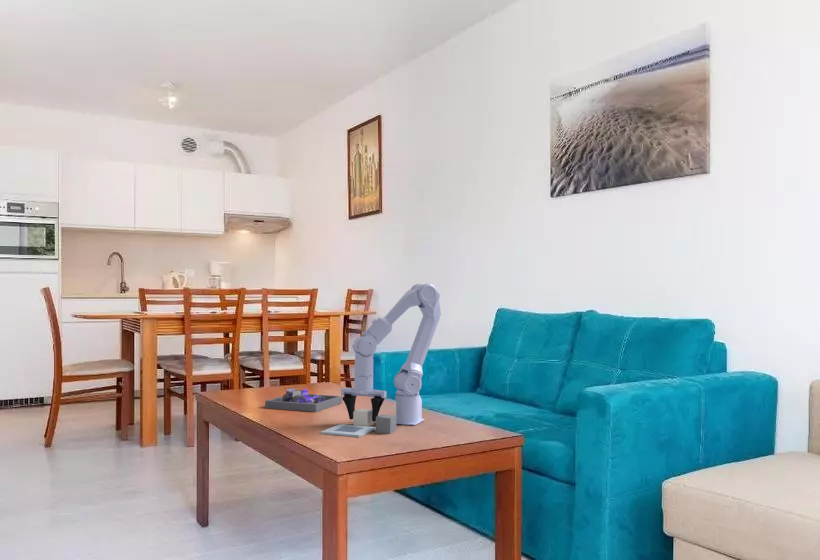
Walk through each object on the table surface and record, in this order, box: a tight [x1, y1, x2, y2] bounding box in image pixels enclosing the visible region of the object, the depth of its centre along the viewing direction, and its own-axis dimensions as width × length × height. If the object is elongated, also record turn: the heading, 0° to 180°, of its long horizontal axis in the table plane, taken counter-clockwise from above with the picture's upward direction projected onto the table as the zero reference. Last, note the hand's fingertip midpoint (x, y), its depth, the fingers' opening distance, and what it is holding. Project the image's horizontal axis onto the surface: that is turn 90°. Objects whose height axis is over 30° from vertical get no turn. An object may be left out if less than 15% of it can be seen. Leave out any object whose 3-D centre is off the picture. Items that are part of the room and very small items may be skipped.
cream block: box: [352, 408, 374, 427], centre depth 201 cm, size 5×5×5 cm
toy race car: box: [282, 388, 326, 404], centre depth 236 cm, size 10×15×6 cm, turn 127°
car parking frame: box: [264, 393, 343, 413], centre depth 235 cm, size 20×20×2 cm
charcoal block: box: [375, 413, 397, 435], centre depth 192 cm, size 5×5×5 cm
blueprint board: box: [320, 423, 376, 438], centre depth 192 cm, size 12×12×1 cm
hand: (363, 419), depth 201 cm, fingers open, 7 cm apart
